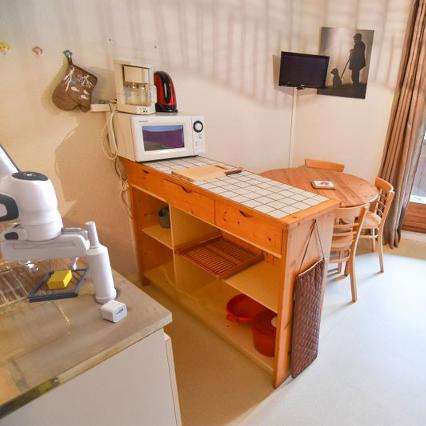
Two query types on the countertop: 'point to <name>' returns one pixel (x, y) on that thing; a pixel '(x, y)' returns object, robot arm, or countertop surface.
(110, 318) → the usb wall charger
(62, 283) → the sponge
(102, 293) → the bottle
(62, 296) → the dark grey flat frame
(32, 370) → the countertop surface
